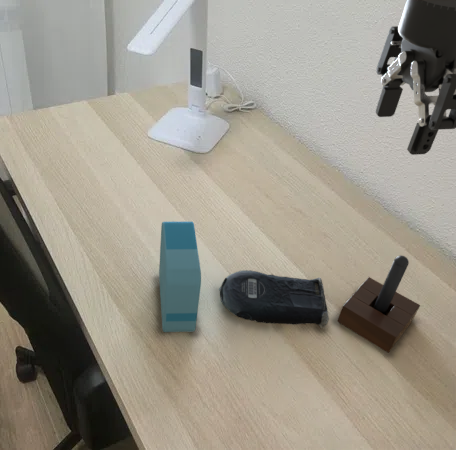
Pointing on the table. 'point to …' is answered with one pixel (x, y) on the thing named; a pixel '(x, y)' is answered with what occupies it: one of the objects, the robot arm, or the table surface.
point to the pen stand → (377, 315)
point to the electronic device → (274, 298)
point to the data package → (179, 277)
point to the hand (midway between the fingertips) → (399, 133)
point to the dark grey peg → (391, 284)
